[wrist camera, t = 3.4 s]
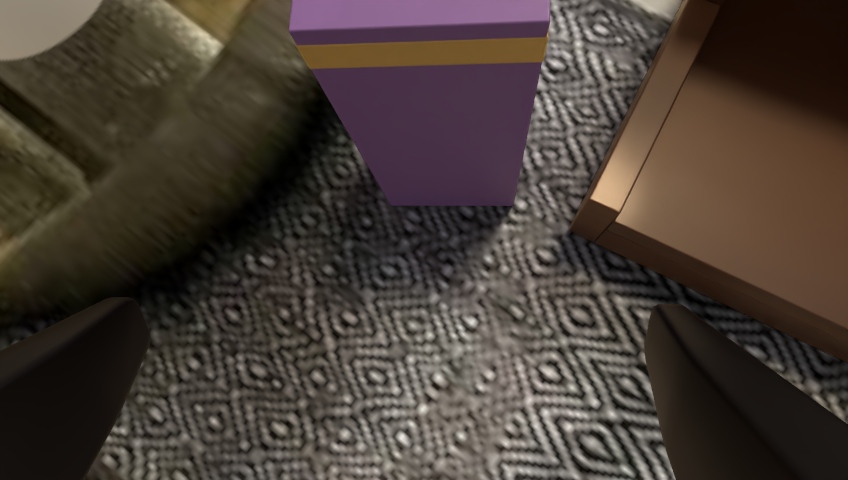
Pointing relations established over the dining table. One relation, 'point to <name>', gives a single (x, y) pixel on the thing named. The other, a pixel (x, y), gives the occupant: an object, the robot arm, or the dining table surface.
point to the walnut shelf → (739, 164)
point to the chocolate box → (430, 89)
